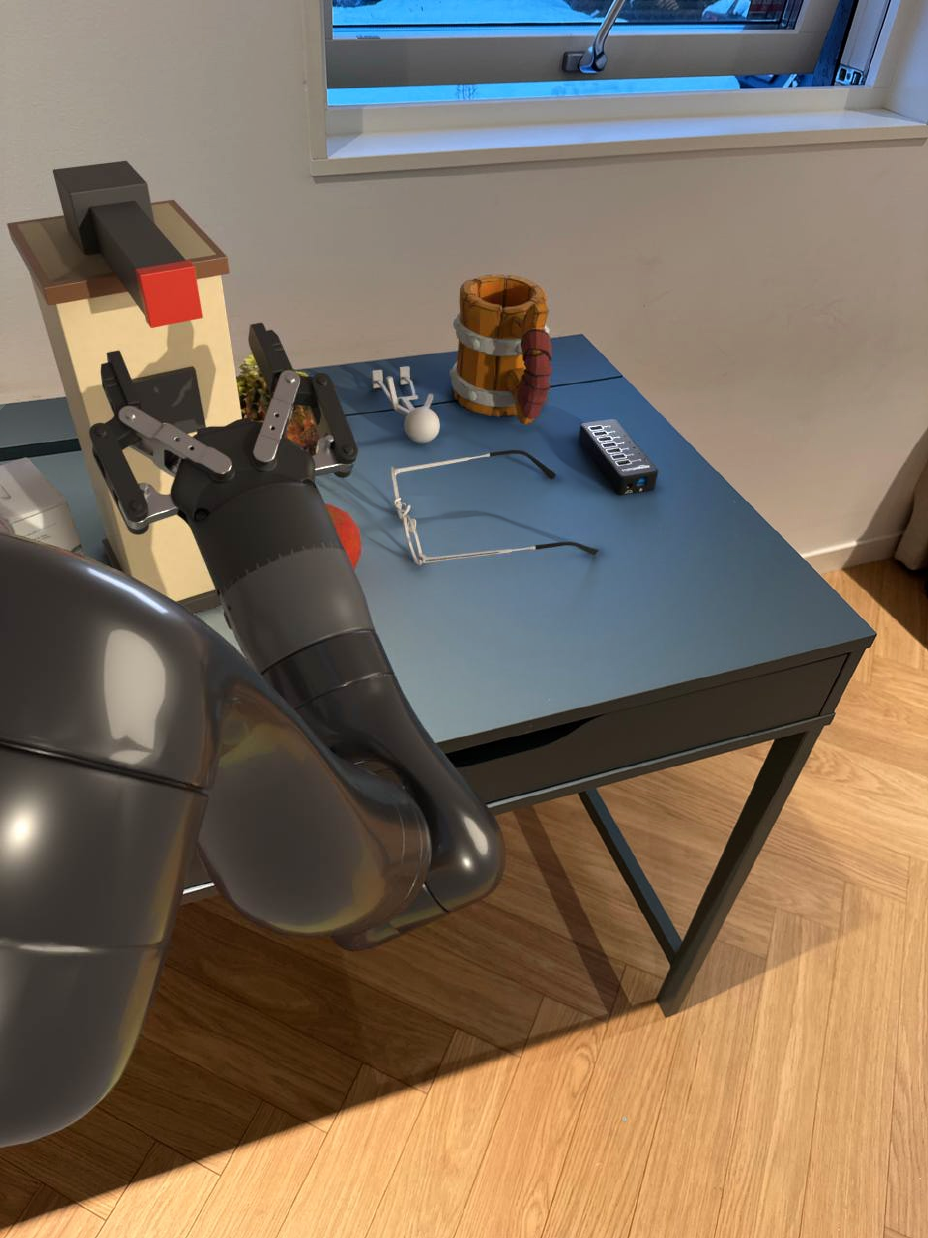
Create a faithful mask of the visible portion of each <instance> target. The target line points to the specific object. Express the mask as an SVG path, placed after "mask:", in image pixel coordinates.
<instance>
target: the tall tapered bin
mask: <svg viewBox="0 0 928 1238" xmlns="http://www.w3.org/2000/svg"><path fill="white" fill-rule="evenodd" d="M151 205H152V211H153V216H154V221H155V224H156V226H157V227H158V228H159V229H160V230H161V231H162V233H163V234H164V235H165V236H166V237H167V238H168V240H169V241H170V242H171V243H172V244H173V245H174V247H175V248H176V249H177V250H178V251H179V252H180V254H181V255H182V256H183V257H184V258H185V259H186V261H187V260H189V261H190V262H191V263H192V264H193V265H194V266H195V272H196V278H197V284H198V290H199V296H200V302H201V308H202V314H203V318H200V319H195V320H190V321H185V322H180V323H175V324H170V325H165V326H159V327H154V328H150V326H149V325H148V323H147V322H146V319H145V315H144V314H143V313H142V311H141V310H140V308H139V307H138V305H137V304H136V303H135V301H134V300H133V298H132V297H131V296H130V294H129V293H128V291H127V290H126V289H125V287H124V286H123V284H122V283H121V281H120V280H119V279H118V277H117V276H116V274H115V273H114V272H113V270H112V269H111V267H110V266H109V264H108V263H107V262H106V260H105V259H104V257H103V256H102V255H101V253H95V254H88V255H85V254H84V253H83V251H82V250H81V248H80V247H79V245H78V244H77V243H76V241H75V240H74V238H73V237H72V235H71V234H70V232H69V231H68V229H67V226H66V222H65V218H64V214H61V215H56V216H48V217H42V218H41V217H40V218H34V219H27V220H21V221H13V222H7V223H6V226H7V229H8V232H9V236H10V239H11V242H12V243H13V245H14V247H15V248H16V251H17V252H18V254H19V256H20V258H21V259H22V261H23V263H24V265H25V266H26V269H27V270H28V272H29V276H30V279H31V282H32V286H33V289H34V292H35V296H36V298H37V303H38V307H39V310H40V313H41V316H42V320H43V324H44V326H45V329H46V333H47V336H48V340H49V344H50V347H51V350H52V354H53V357H54V361H55V364H56V367H57V370H58V374H59V377H60V381H61V384H62V388H63V391H64V395H65V398H66V401H67V404H68V408H69V412H70V415H71V419H72V422H73V424H74V428H75V432H76V435H77V440H78V442H79V446H80V449H81V452H82V457H83V459H84V463H85V467H86V470H87V473H88V476H89V480H90V483H91V486H92V490H93V494H94V497H95V501H96V503H97V507H98V510H99V514H100V518H101V521H102V525H103V528H104V531H105V534H106V537H107V538H103V539H102V540H101V543H102V546H103V549H104V553H105V554H106V557H107V559H108V561H109V564H110V567H112V568H115V569H117V570H119V571H121V572H124V573H126V574H128V575H130V576H132V577H134V578H136V579H138V580H139V581H141V582H143V583H145V584H147V585H149V586H150V587H152V588H154V589H156V590H157V591H159V592H161V593H162V594H164V595H166V596H168V597H169V598H171V599H173V600H174V601H176V602H178V603H179V604H181V605H183V606H184V607H185V608H187V609H188V610H189V611H191V612H192V613H193V614H197V613H200V612H203V611H207V610H209V609H212V608H215V607H218V606H222V604H221V602H220V599H219V597H218V594H217V592H216V589H215V587H214V584H213V582H212V580H211V577H210V575H209V572H208V570H207V567H206V565H205V562H204V560H203V557H202V555H201V553H200V550H199V548H198V545H197V543H196V540H195V538H194V535H193V533H192V531H191V529H190V527H189V526H188V524H187V523H186V522H185V521H184V520H183V519H181V518H180V517H179V516H178V515H174V516H171V517H168V518H165V519H162V520H159V521H156V522H154V523H151V524H149V529H148V530H147V531H146V532H145V533H144V534H140V535H136V534H133V533H131V532H130V531H129V530H128V529H127V527H126V524H125V522H124V520H123V518H122V516H121V514H120V512H119V510H118V508H117V505H116V503H115V501H114V499H113V497H112V495H111V493H110V491H109V488H108V486H107V484H106V482H105V480H104V478H103V476H102V474H101V471H100V469H99V467H98V465H97V463H96V461H95V459H94V457H93V452H92V448H93V447H92V441H91V439H90V434H89V430H90V428H91V426H92V425H94V424H96V423H106V422H108V421H109V420H111V419H112V418H113V417H114V414H113V411H112V409H111V406H110V404H109V401H108V399H107V396H106V394H105V391H104V389H103V386H102V379H101V364H103V363H108V361H107V353H108V352H113V351H118V350H119V351H120V352H121V355H122V357H123V360H124V362H125V365H126V367H127V369H128V372H129V374H130V377H131V379H132V382H133V384H134V387H135V389H136V392H137V394H138V396H139V399H140V401H141V411H143V412H144V413H146V414H148V415H149V416H151V417H153V418H154V419H156V420H157V421H159V422H161V423H170V424H172V425H173V426H175V427H176V428H178V429H180V430H181V431H183V432H185V433H186V434H188V435H190V436H191V437H193V436H194V435H195V434H197V429H201V428H206V427H210V426H226V425H228V424H230V423H232V422H234V421H236V420H239V419H242V416H241V409H240V402H239V396H238V389H237V382H236V380H237V377H236V369H235V362H234V356H233V348H232V342H231V334H230V329H229V321H228V315H227V308H226V301H225V294H224V288H223V280H222V276H223V275H229V274H230V273H231V271H230V263H229V258H228V255H227V254H225V252H224V251H223V250H222V249H221V248H220V247H219V246H218V244H216V243H215V242H214V240H212V238H211V237H209V235H208V234H207V233H206V232H205V231H204V230H203V229H202V227H200V226H199V225H198V224H197V223H196V221H195V220H194V219H193V218H192V217H191V216H190V215H189V214H188V213H187V212H186V211H185V210H184V209H183V208H182V207H181V205H180V204H179V203H177V202H176V200H175V199H169V200H163V201H162V200H161V201H155V202H151ZM122 451H123V453H124V456H125V458H126V460H127V462H128V464H129V466H130V468H131V470H132V472H133V474H134V476H135V479H136V481H137V483H138V484H139V483H147V484H150V485H151V486H153V488H154V489H155V490H156V491H157V492H158V493H160V494H163V495H168V494H170V491H171V487H172V484H173V481H174V477H172V476H171V475H169V474H167V473H166V472H164V471H162V470H161V469H159V468H158V467H157V466H156V465H155V464H154V463H153V462H152V460H151V459H149V458H148V457H146V456H144V455H143V454H141V453H139V452H138V451H136V450H134V449H133V448H131V447H129V446H128V447H127V448H125V449H123V450H122Z"/></svg>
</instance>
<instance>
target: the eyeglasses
mask: <svg viewBox="0 0 928 1238" xmlns="http://www.w3.org/2000/svg"><path fill="white" fill-rule="evenodd" d="M514 454H515V455H523V456H525V457H527V459H529V460H530V461H531V462H532V463H533V464H534V465H535V466H536V467H538V469H540V470H541V471H542V472H543V473H544V474H545V475H546V476H547V477H548V478H549V479H551V480H553V479H555V477H556V476H557V475H556V473H555V472H554V471H553V470H552V469H550V468H549V467H548V466H547V465H545V464H544V463H542V462H541V461H540V460H538V459H537V457H536V458H535V456H533V455H532V454H530V453H529V452H527V451H525V450H521V449H508V450H498V451H491V452H488V453H486V454H482V455H476V456H472V457H468V456H467V457H461V458H455V459H449V460H448V459H447V460H442V461H436V462H430V463H425V464H419V465H418V464H417V465H413V466H406V467H400V468H395V466H391V467H390V470H391V472H390V476H391V479H392V484H393V491H394V496H395V500H394V501H393V502H394V503H393V504H394V507H395V508H396V512H397V514H398V518H399V519H401V522H402V524H403V528H404V534H405V537H406V541H407V545H408V548H409V551H410V553H411V556H412V560H413V562H414V563H416V565H417V566H421V565H423V564H424V563H433V562H434V563H435V562H440V561H448V560H449V561H450V560H458V559H466V558H474V557H483V556H490V555H491V556H492V555H497V554H498V555H501V554H508V553H511V552H517V551H526V550H531V551H532V550H533V551H534V550H535V551H536V550H543V549H551V548H557V547H563V546H566V547H567V546H568V547H569V546H571V547H576V548H578V549H580V550H582V551H584V552H585V553H588V554H589V555H592V556H595V555H596V554H597V553H599V551H600V549H597V548H595V547H594V548H593V547H591V546H587V545H584V544H582V543H579V542H575V541H559V542H558V541H557V542H550V543H541V544H534V545H531V546H529V547H522V548H515V549H513V548H507V549H498V550H489V551H488V550H487V551H478V552H471V553H461V554H451V555H443V556H434V557H430V556H426V555H425V554H424V553H423V552H422V547H421V543H420V538H419V536H418V532H417V529H416V526H417V520H416V519H415V518H411V516H410V515H409V514H408V513H409V511H410V509H411V504H408V505H407V504H406V503H405V502H402V501H401V500H402V498H401V497H400V495H399V494H400V493H399V488H398V482H397V475H398V474H400V473H404V472H405V473H406V472H411V471H415V470H422V469H427V468H433V467H438V466H444V465H449V464H455V463H460V462H465V461H469V460H473V459H478V458H479V459H480V458H492V457H498V456H499V457H500V456H505V455H506V456H507V455H514ZM403 504H404V505H405V506H404V507H403V509H402V506H403ZM409 532H410V533H413V534H414V538H415V542H416V546H417V547H416V548H417V552H418V558H417V555H416V553H415V550H414V548H413V544H412V540H411V536H410V533H409Z"/></svg>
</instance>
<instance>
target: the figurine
mask: <svg viewBox="0 0 928 1238" xmlns="http://www.w3.org/2000/svg"><path fill="white" fill-rule="evenodd" d="M371 374H372V387H373V389H377V388H378V389H379V388H381V389H382V391H383V394H385V396H386V398H387V399H388V400H389V402H390V403H391V406H392V409H393V410H394V411H396V412H397V413H400V414H402V415H404V416H405V418H404V422H403V423H404V424H403V426H404V427H403V428H404V431H405V432H404V433H405V434H406V435H407V437H408V438H409V439H410V440H411V441H412V442H414V443H417V444H427V443H430V442H432V441H433V440H435V438H436V437H437V436H438V434H439V433H440V429H441V424H440V419H439V417H438V415H437V413H436V412H435V411H433V410H432V409H431V408H430V407H431V405H432V402H433V400H434V393H429V394H428V395H427V398H426V401H425V403H424V404H423V405H422V406H418V407H414V406H413V404H412V402H411V401H413V400H418V399H419V396H418V394H416V390H415V387H414V382H413V381H412V380H411V379H410V378H411V376H410V375H411V373H410V366H409V365H406V366H401V367H399V384H400V385H409V387H410V392H411V395H407V396H401V397H398V396H397V391H396V388H395V383H394V378H393V376H391V375H389V376H386V377H385V380H386V384H387V387H386V385H385V384H384V381H383V380H384V379H383V370H382V369H376V370H375V369H374V370H372V373H371ZM399 402H401V404H402V405H403V406H402V405H400V404H399Z"/></svg>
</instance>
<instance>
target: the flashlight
mask: <svg viewBox="0 0 928 1238" xmlns="http://www.w3.org/2000/svg"><path fill="white" fill-rule="evenodd" d="M52 175H53V179H54V182H55V186H56V190H57V194H58V197H59V201H60V205H61V211H62V213H63V214H62V215H64V218H65V222H66V226H67V229H68V231H69V232H70V234H71V235H72V237H73V238H74V240H75V241H76V243H77V244H78V245H79V247H80V248H81V250H82V251H83V253H84V254H85V255H88V254H95V253H101V255H102V256H103V257H104V259H105V260H106V262H107V263H108V264H109V266H110V267H111V269H112V270H113V272H114V273H115V274H116V276H117V277H118V279H119V280H120V281H121V283H122V284H123V286H124V287H125V289H126V290H127V291H128V293H129V294H130V296H131V297H132V298H133V300H134V301H135V303H136V304H137V305H138V307H139V308H140V310H141V311H142V313H143V314H144V315H145V319H146V322H147V323H148V325H149V326H150V328H154V327H159V326H165V325H170V324H175V323H180V322H185V321H190V320H195V319H200V318H203V314H202V308H201V302H200V296H199V290H198V284H197V278H196V272H195V266H194V265H193V264H192V263H191V262H190V261H189V260H187V261H186V259H185V258H184V257H183V256H182V255H181V254H180V252H179V251H178V250H177V249H176V248H175V247H174V245H173V244H172V243H171V242H170V241H169V240H168V238H167V237H166V236H165V235H164V234H163V233H162V231H161V230H160V229H159V228H158V227H157V226H156V224H155V221H154V216H153V211H152V205H151V203H152V201H151V197H150V196H151V195H150V191H149V185H148V182H147V181H146V180H145V178H143V177H142V176H141V174H139V172H138V171H137V170H136V169H135V168H134V167H133V166H132V165H131V164H130V163H129V161H128V160H120V161H119V160H118V161H111V162H103V163H94V164H88V165H87V164H86V165H78V166H72V167H63V168H54V169H52Z"/></svg>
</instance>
